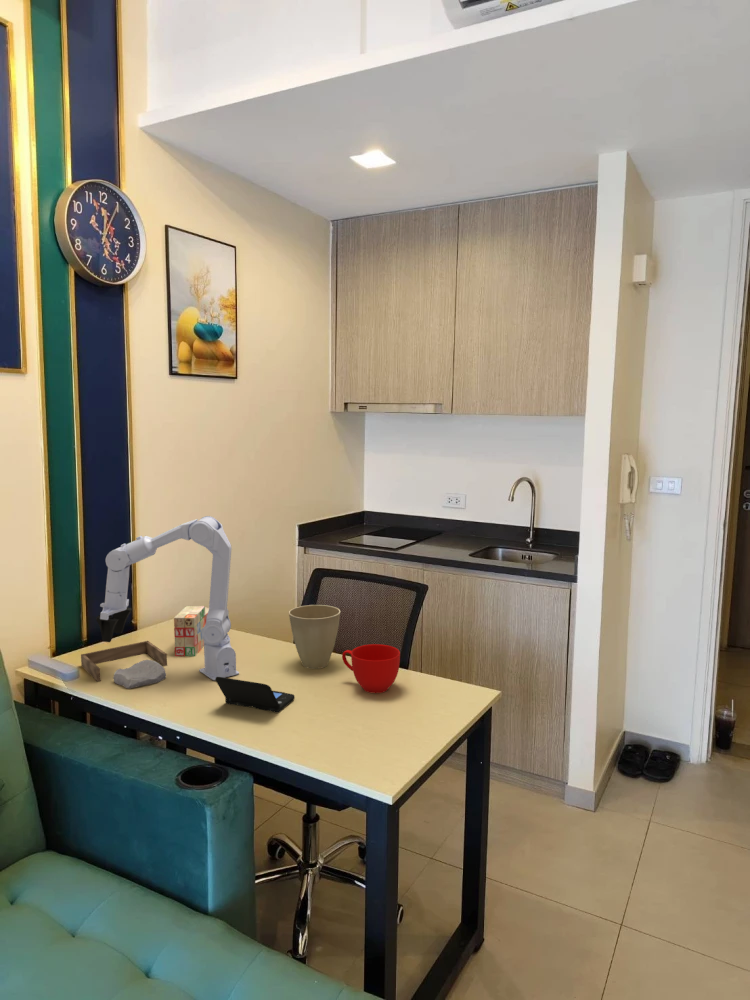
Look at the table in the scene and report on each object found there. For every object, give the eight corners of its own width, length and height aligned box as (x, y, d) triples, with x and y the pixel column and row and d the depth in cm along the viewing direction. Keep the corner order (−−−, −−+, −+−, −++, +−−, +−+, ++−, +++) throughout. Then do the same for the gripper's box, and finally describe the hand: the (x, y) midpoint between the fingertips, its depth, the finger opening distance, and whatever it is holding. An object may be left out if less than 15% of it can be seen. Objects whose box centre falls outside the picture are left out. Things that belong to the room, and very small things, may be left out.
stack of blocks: (195, 634, 228) (194, 598, 226) (214, 634, 228) (213, 598, 226) (174, 656, 206) (173, 617, 205) (195, 656, 206) (194, 617, 205)
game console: (296, 699, 176) (296, 665, 174) (269, 721, 163) (268, 685, 162) (244, 690, 181) (244, 657, 180) (214, 711, 169) (213, 675, 168)
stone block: (170, 684, 190) (149, 669, 196) (170, 669, 188) (150, 654, 194) (131, 699, 181) (111, 683, 187) (131, 683, 179) (111, 667, 185)
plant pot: (351, 664, 200) (351, 611, 198) (312, 678, 190) (312, 622, 188) (317, 651, 210) (316, 601, 208) (279, 664, 200) (278, 611, 198)
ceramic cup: (355, 673, 193) (355, 638, 192) (408, 685, 185) (408, 649, 183) (329, 688, 182) (329, 652, 181) (384, 702, 174) (384, 664, 172)
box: (167, 665, 199) (166, 653, 198) (97, 681, 187) (96, 669, 186) (148, 651, 210) (147, 640, 210) (81, 666, 198) (80, 654, 198)
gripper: (113, 582, 198) (109, 627, 200) (91, 594, 184) (86, 643, 185) (137, 585, 198) (133, 630, 199) (116, 598, 183) (112, 647, 185)
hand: (112, 637), depth 192 cm, fingers open, 7 cm apart
